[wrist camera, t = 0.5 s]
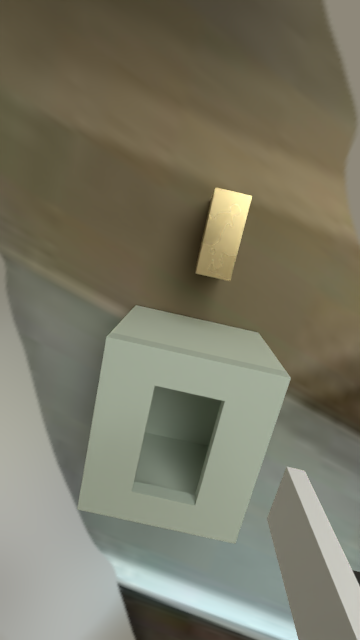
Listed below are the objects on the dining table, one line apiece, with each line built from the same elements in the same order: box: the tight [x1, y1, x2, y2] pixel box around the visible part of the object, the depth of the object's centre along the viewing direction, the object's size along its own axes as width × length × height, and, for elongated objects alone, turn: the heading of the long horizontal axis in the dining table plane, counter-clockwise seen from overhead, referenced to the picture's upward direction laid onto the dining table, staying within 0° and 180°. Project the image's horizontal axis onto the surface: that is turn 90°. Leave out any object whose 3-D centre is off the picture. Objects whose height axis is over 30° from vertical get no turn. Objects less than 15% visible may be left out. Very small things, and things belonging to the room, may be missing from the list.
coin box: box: [78, 305, 291, 544], centre depth 31 cm, size 16×14×12 cm
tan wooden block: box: [195, 188, 252, 281], centre depth 29 cm, size 7×3×7 cm, turn 168°
